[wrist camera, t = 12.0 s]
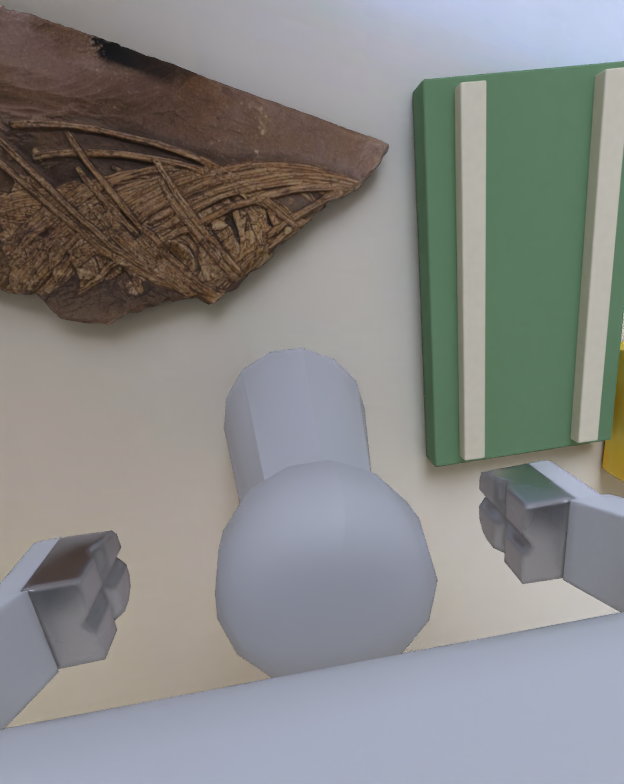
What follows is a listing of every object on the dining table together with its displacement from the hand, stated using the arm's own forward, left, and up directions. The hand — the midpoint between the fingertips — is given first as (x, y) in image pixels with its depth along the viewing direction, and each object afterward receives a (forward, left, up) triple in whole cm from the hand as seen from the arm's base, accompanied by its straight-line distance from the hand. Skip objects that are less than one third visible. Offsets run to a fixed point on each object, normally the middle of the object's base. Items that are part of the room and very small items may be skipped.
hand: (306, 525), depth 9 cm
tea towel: (-4, +11, -11) cm, 16 cm away
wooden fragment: (-10, -8, -11) cm, 16 cm away
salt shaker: (0, 0, -11) cm, 11 cm away
